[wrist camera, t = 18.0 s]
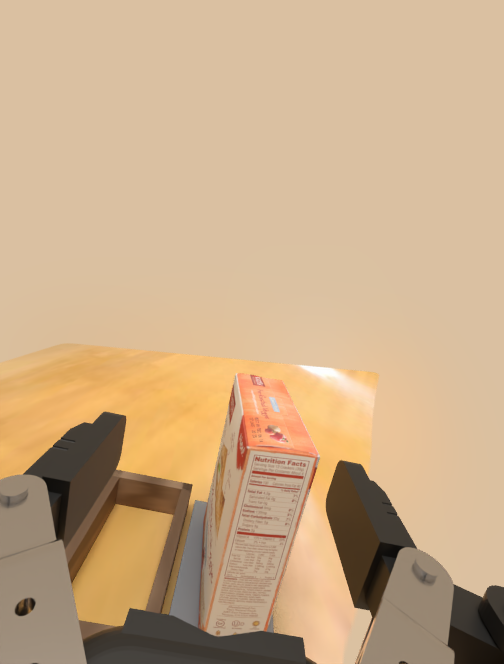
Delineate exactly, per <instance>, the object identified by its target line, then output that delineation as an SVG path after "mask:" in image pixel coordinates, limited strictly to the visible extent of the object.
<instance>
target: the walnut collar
mask: <svg viewBox="0 0 504 664" xmlns="http://www.w3.org/2000/svg"><path fill="white" fill-rule="evenodd" d="M191 489H192V484H187V483H182V482H177V481H172V480H166V479H161V478H156V477H151V476H146V475H141V474H136V473H130V472H125V471H120V470H115V472H114V473H113V475H112V476H111V478H110V480H109V481H108V483H107V484H106V486H105V487H104V489H103V491H102V492H101V494H100V495H99V497H98V498H97V500H96V502H95V503H94V505H93V506H92V508H91V509H90V511H89V513H88V514H87V516H86V517H85V519H84V521H83V522H82V524H81V525H80V527H79V528H78V530H77V532H76V533H75V535H74V536H73V538H72V539H71V541H70V543H69V544H68V546H67V547H66V549H65V554H66V559H67V564H68V569H69V574H70V579H71V583H72V582H73V580H74V578H75V576H76V574H77V572H78V571H79V569H80V567H81V565H82V563H83V562H84V560H85V558H86V556H87V554H88V552H89V551H90V549H91V547H92V545H93V543H94V542H95V540H96V538H97V536H98V534H99V532H100V531H101V529H102V527H103V525H104V523H105V522H106V520H107V518H108V516H109V514H110V512H111V511H112V509H113V507H114V505H115V503H116V504H121V505H126V506H132V507H137V508H142V509H148V510H153V511H158V512H164V513H169V514H174V517H173V520H172V523H171V527H170V530H169V534H168V537H167V540H166V544H165V547H164V550H163V554H162V557H161V560H160V564H159V567H158V570H157V574H156V577H155V581H154V584H153V587H152V591H151V594H150V597H149V601H148V604H147V607H146V611H149V612H155V613H161V611H162V607H163V603H164V599H165V595H166V591H167V587H168V583H169V579H170V576H171V572H172V568H173V564H174V560H175V556H176V552H177V548H178V544H179V540H180V536H181V532H182V528H183V524H184V520H185V516H186V512H187V508H188V503H189V499H190V494H191ZM79 626H80V631H81V636H82V640H83V639H85V638H86V637H88V636H90V635H92V634H95V633H97V632H100V631H102V630H105V629H109V628H113V627H116V626H110V625H104V624H98V623H92V622H86V621H80V620H79Z"/></svg>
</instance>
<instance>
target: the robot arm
mask: <svg viewBox="0 0 504 664" xmlns="http://www.w3.org/2000/svg"><path fill="white" fill-rule="evenodd" d="M125 425H126V416H124V415H119V414H114V413H109V412H103V413H102V414H101V415H100V416H99V417H98V418H97V419H96V420H95V421H94V423H93V424H90V423H85V422H84V423H82V424H80V425H78V426H76V427H74V428H71V429H70V430H69V431H68V432H67V433H66V434H65V435H64V436H63V437H61V439H60V440H58V441H57V442H56V443H55V444H54V445H53V447H52V448H50V449H49V450H48V451H47V452H46V453H45V454H44V455H43V456H41V457H40V458H39V459H38V460H37V461H36V462H35V463H34V464H33V465H32V466H31V467H30V468H29V469H28V470H27V471H26V472H25V473H24V474H23V475H15V476H10V477H7V478H4V479H1V480H0V664H317V663H315V662H313V661H312V660H310V659H309V658H307V657H305V650H304V642H303V638H301V637H295V636H289V635H284V634H278V633H272V632H266V631H256V632H249V633H242V634H235V635H228V636H219V637H218V636H214V635H211V634H209V633H207V632H205V631H203V630H201V629H199V628H197V627H195V626H193V625H191V624H189V623H187V622H185V621H183V620H181V619H179V618H177V617H175V616H173V615H167V614H161V613H155V612H149V611H143V610H137V609H132V608H130V609H129V612H128V615H127V618H126V621H125V624H124V626H117V627H113V628H109V629H105V630H102V631H100V632H97V633H95V634H92V635H90V636H88V637H86V638H85V639H83V640H82V636H81V631H80V626H79V620H78V615H77V610H76V605H75V600H74V595H73V590H72V585H71V579H70V574H69V569H68V564H67V559H66V554H65V549H66V547H67V546H68V544H69V543H70V541H71V539H72V538H73V536H74V535H75V533H76V532H77V530H78V528H79V527H80V525H81V524H82V522H83V521H84V519H85V517H86V516H87V514H88V513H89V511H90V509H91V508H92V506H93V505H94V503H95V502H96V500H97V498H98V497H99V495H100V494H101V492H102V491H103V489H104V487H105V486H106V484H107V483H108V481H109V480H110V478H111V476H112V475H113V473H114V472H115V470H116V468H117V465H118V463H119V460H120V456H121V451H122V445H123V438H124V432H125ZM326 512H327V516H328V520H329V523H330V526H331V530H332V533H333V536H334V540H335V543H336V547H337V550H338V553H339V557H340V560H341V563H342V567H343V570H344V574H345V577H346V580H347V584H348V587H349V590H350V594H351V597H352V600H353V604H354V607H355V608H360V609H366V610H370V612H371V615H372V619H371V622H370V624H369V627H368V630H367V632H366V635H365V638H364V640H363V643H362V646H361V649H360V651H359V654H358V657H357V659H356V662H355V664H504V587H500V586H490V587H489V588H487V590H486V592H485V594H484V596H483V598H482V597H480V596H478V595H476V594H474V593H471V592H469V591H467V590H465V589H463V588H461V587H458V586H456V585H454V584H453V582H452V579H451V577H450V576H449V574H448V573H447V571H446V570H445V569H444V568H443V566H442V565H441V564H440V563H439V562H438V561H436V560H435V559H434V558H433V557H431V556H430V555H428V554H426V553H425V552H423V551H421V550H418V549H417V548H416V546H415V544H414V542H413V540H412V539H411V537H410V535H409V533H408V532H407V530H406V528H405V526H404V525H403V523H402V521H401V519H400V518H399V517H398V516H397V512H396V511H395V509H394V507H393V506H392V504H391V502H390V500H389V498H388V497H387V495H386V493H385V492H384V491H383V490H382V489H381V488H380V487H379V486H378V485H377V484H376V483H375V482H374V481H370V480H369V478H368V476H367V474H366V472H365V470H364V468H363V467H362V465H361V464H357V463H352V462H347V461H342V460H341V461H339V462H338V464H337V467H336V470H335V473H334V476H333V479H332V482H331V485H330V488H329V491H328V494H327V498H326Z"/></svg>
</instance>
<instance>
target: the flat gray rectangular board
mask: <svg viewBox="0 0 504 664" xmlns="http://www.w3.org/2000/svg"><path fill="white" fill-rule="evenodd" d="M206 507H207V502H202V501H197V500H195V504H194V508H193V513H192V517H191V521H190V526H189V530H188V534H187V539H186V543H185V548H184V552H183V556H182V561H181V565H180V570H179V574H178V578H177V583H176V587H175V591H174V596H173V600H172V605H171V609H170V613H169V615H173V616H175V617H177V618H179V619H181V620H183V621H185V622H187V623H189V624H191V625H193V626H195V627H197V628H198V623H199V602H200V583H201V564H202V543H203V521H204V516H205V512H206ZM266 632H272V633H274V630H273V614H272V616H271V619H270V622H269V625H268V628H267V631H266Z"/></svg>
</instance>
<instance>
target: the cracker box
mask: <svg viewBox="0 0 504 664" xmlns="http://www.w3.org/2000/svg"><path fill="white" fill-rule="evenodd" d="M319 459H320V456H319V453H318V451H317V449H316V447H315V445H314V443H313V441H312V439H311V437H310V435H309V433H308V431H307V429H306V427H305V425H304V423H303V421H302V419H301V417H300V415H299V413H298V411H297V409H296V407H295V405H294V403H293V401H292V399H291V397H290V395H289V393H288V391H287V389H286V387H285V384H284V382H283V381H282V380H276V379H269V378H263V377H258V376H254V375H248V374H238V373H236V375H235V379H234V384H233V388H232V393H231V397H230V402H229V407H228V412H227V417H226V421H225V426H224V430H223V435H222V439H221V443H220V448H219V453H218V457H217V462H216V467H215V471H214V476H213V480H212V485H211V489H210V494H209V498H208V503H207V507H206V512H205V516H204V521H203V543H202V564H201V583H200V602H199V623H198V628H199V629H201V630H203V631H205V632H207V633H209V634H211V635H214V636H218V637H219V636H228V635H235V634H242V633H249V632H256V631H267V628H268V625H269V622H270V619H271V616H272V612H273V609H274V606H275V602H276V599H277V596H278V593H279V589H280V586H281V583H282V580H283V576H284V573H285V570H286V567H287V563H288V560H289V557H290V554H291V550H292V547H293V544H294V540H295V537H296V534H297V531H298V527H299V524H300V521H301V518H302V514H303V511H304V508H305V505H306V501H307V498H308V495H309V492H310V488H311V485H312V482H313V479H314V476H315V473H316V469H317V465H318V462H319Z"/></svg>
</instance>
